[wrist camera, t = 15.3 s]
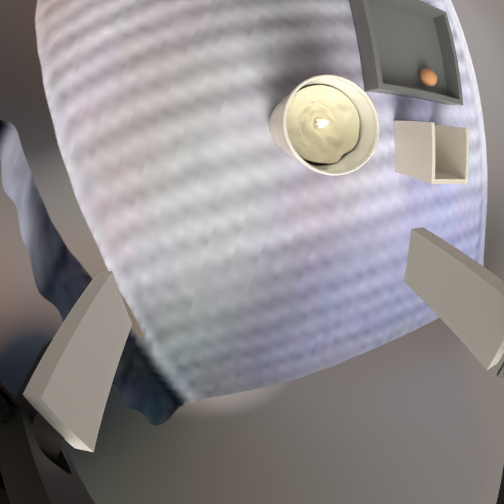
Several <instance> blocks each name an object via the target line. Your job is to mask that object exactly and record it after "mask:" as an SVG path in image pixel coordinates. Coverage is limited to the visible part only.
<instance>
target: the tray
mask: <svg viewBox="0 0 504 504" xmlns="http://www.w3.org/2000/svg"><path fill="white" fill-rule="evenodd" d="M349 2H350V7H351V11H352V15H353V20H354V25H355V30H356V35H357V41H358V46H359V52H360V59H361V66H362V73H363V81H364V90H365V91H367V92H377V93H385V94H393V95H400V96H407V97H413V98H418V99H424V100H429V101H434V102H438V103H443V104H447V105H463V99H462V89H461V81H460V74H459V67H458V62H457V56H456V51H455V46H454V41H453V37H452V33H451V29H450V25H449V21H448V18H447V14H446V12H444V11H442V10H440V9H437V8H435V7H433V6H430V5H428V4H426V3H423V2H421V1H418V0H349ZM425 68H428V69H431V70H433V71H434V72H435V74H436V76H437V83H436V84H435V85H434V86H426V85H425V84H423V83H422V82H421V80H420V77H419V73H420V71H421V70H422V69H425Z"/></svg>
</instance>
